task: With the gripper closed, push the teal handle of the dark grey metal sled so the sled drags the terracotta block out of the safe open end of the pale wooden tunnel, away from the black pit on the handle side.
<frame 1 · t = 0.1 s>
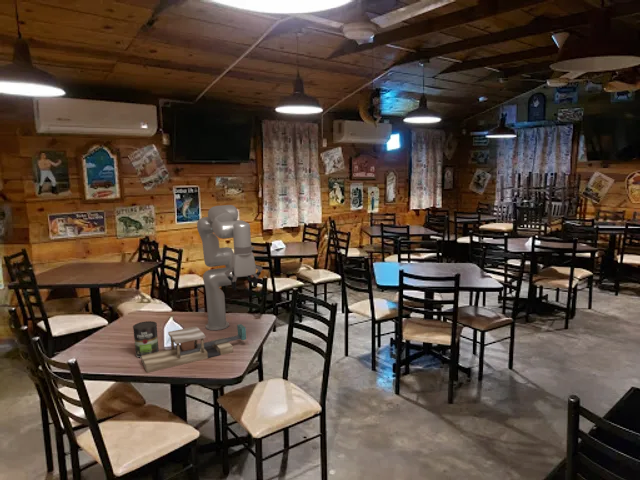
hand: (244, 288, 201), 31 cm above the table, tool pointing down, fingers open, 9 cm apart
block: (187, 350, 205), point 3 cm above the table, touching tunnel
tunnel: (188, 357, 205), on the table
coffee can: (147, 354, 210), on the table
sled: (211, 338, 210), point 6 cm above the table, slide at 0.0 cm
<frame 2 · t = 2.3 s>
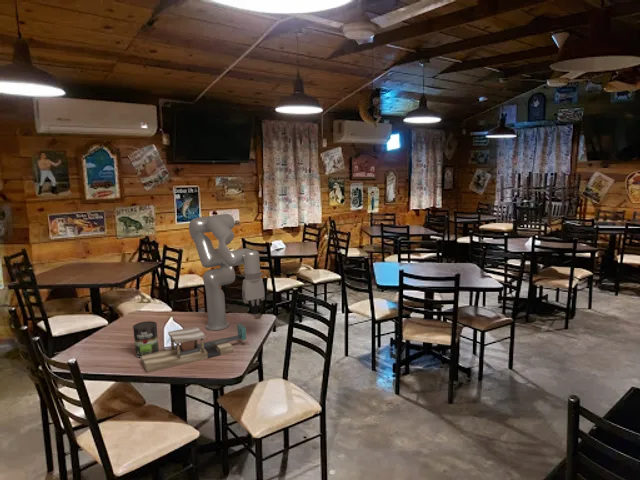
hand: (255, 313, 219), 15 cm above the table, tool pointing down, fingers closed
nothing on the table moved.
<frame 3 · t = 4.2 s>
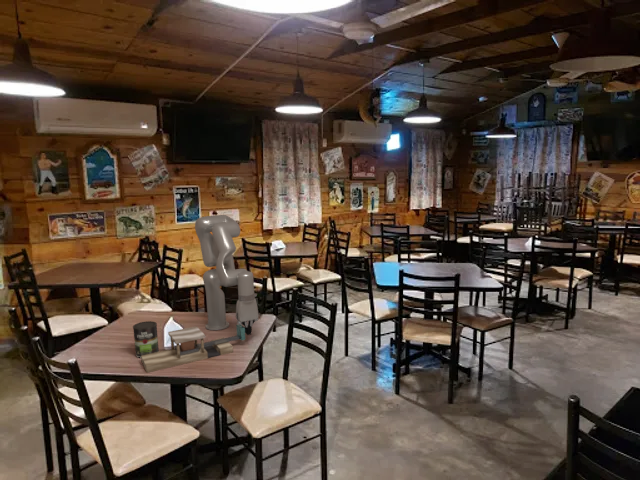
hand: (248, 333, 219), 5 cm above the table, tool pointing down, fingers closed
sled: (210, 338, 210), point 6 cm above the table, slide at 0.5 cm, touching gripper
everything else where it was.
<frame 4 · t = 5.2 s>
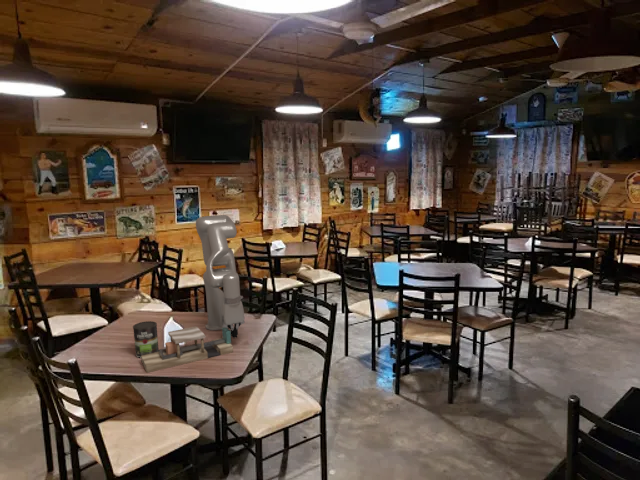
hand: (234, 337, 216), 5 cm above the table, tool pointing down, fingers closed
block: (173, 354, 201), point 3 cm above the table, touching tunnel
sled: (195, 342, 206), point 6 cm above the table, slide at 7.6 cm, touching gripper
everything else where it was.
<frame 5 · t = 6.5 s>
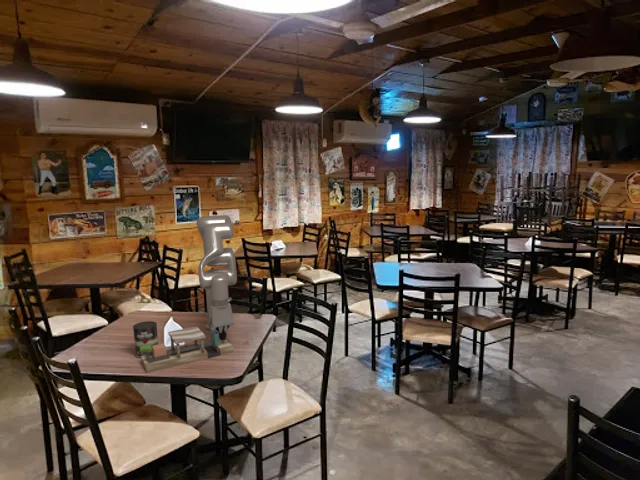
hand: (223, 339, 213), 5 cm above the table, tool pointing down, fingers closed
block: (159, 357, 198), point 3 cm above the table, touching sled, tunnel
sled: (183, 344, 203), point 6 cm above the table, slide at 13.2 cm, touching block, gripper
everything else where it was.
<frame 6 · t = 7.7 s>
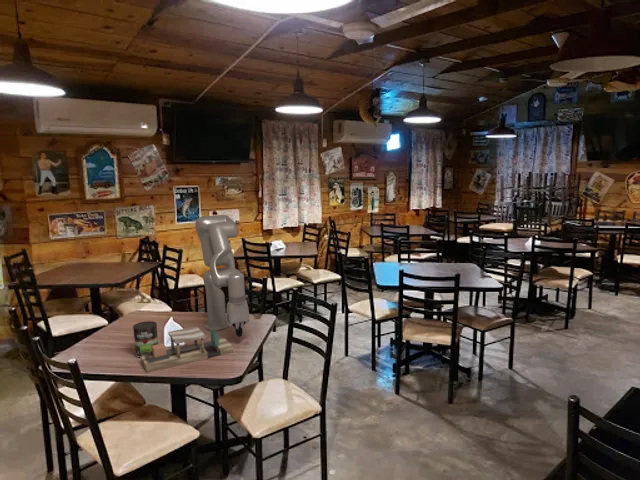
hand: (239, 335, 217), 5 cm above the table, tool pointing down, fingers closed
sled: (182, 344, 203), point 6 cm above the table, slide at 13.3 cm, touching block
everything else where it was.
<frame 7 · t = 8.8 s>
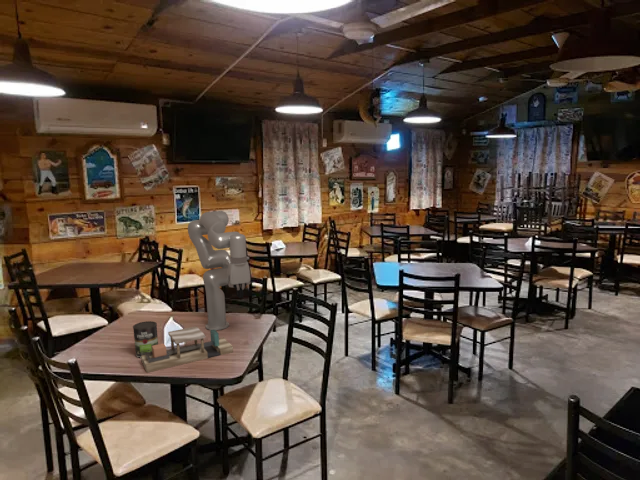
hand: (240, 297, 217), 23 cm above the table, tool pointing down, fingers closed
nothing on the table moved.
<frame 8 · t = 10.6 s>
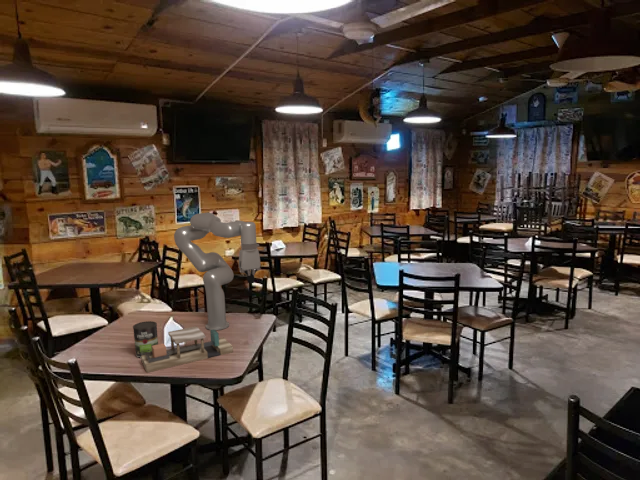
hand: (250, 282, 227), 27 cm above the table, tool pointing down, fingers closed
nothing on the table moved.
at the end: sled slide at 13.3 cm; block inside the target area on the tunnel (0.2 cm from its centre), point 3.0 cm above the tunnel's base; block tilted 0° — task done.
